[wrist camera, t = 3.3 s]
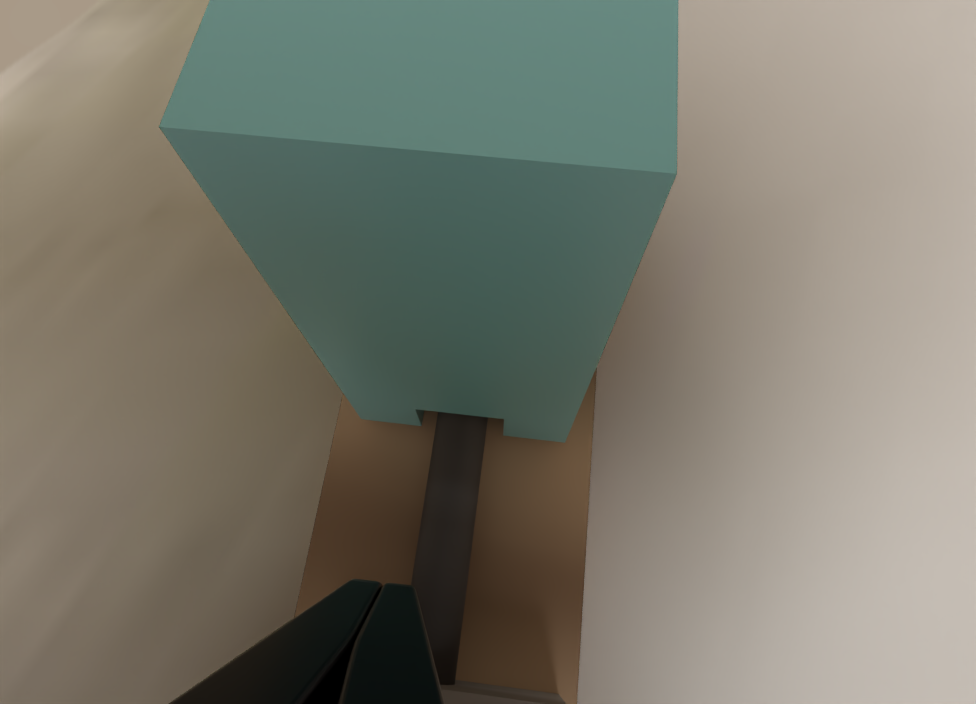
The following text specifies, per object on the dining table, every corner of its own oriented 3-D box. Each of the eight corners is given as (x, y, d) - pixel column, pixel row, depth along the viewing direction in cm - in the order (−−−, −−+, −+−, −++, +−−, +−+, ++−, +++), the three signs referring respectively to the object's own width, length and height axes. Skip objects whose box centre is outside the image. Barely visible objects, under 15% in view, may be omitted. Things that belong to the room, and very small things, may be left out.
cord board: (564, 767, 14) (590, 823, 11) (288, 728, 15) (217, 768, 11) (606, 103, 22) (630, -4, 18) (422, 88, 22) (407, -22, 18)
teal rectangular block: (565, 442, 15) (677, 173, 6) (361, 419, 16) (158, 127, 6) (576, 295, 17) (679, -105, 7) (390, 276, 17) (262, -132, 8)
